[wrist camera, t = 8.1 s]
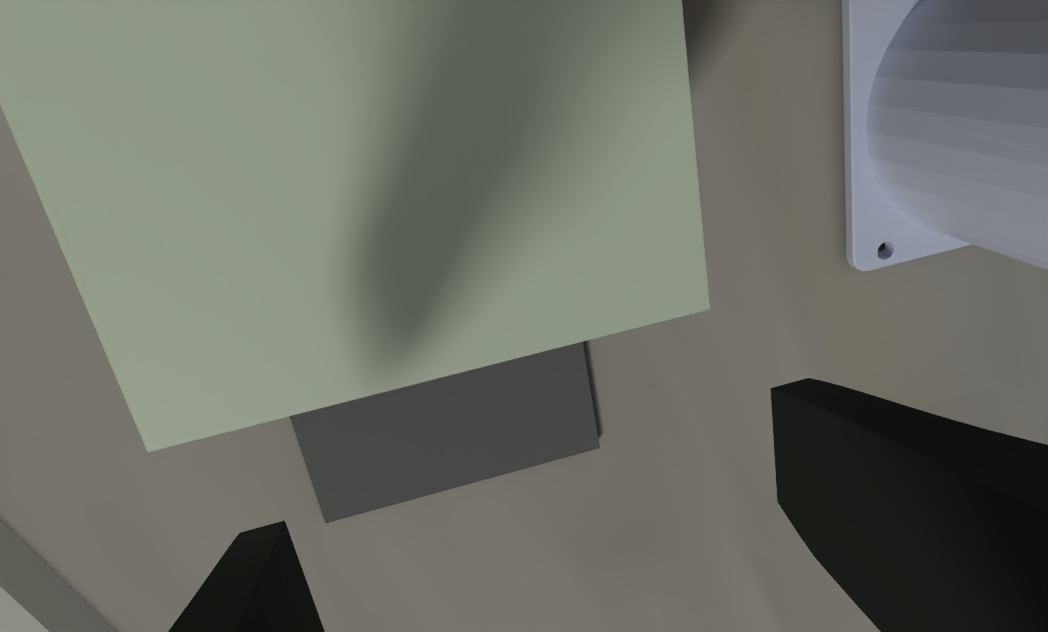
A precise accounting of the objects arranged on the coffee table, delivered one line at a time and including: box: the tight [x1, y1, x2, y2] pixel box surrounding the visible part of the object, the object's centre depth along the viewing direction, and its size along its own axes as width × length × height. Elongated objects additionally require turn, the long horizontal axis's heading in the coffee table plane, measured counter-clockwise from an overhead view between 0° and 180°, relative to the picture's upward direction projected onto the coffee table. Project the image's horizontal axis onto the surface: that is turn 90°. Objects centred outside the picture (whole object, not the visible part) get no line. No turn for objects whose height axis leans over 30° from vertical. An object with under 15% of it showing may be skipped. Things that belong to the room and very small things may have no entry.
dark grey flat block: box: [290, 342, 600, 523], centre depth 21 cm, size 8×5×1 cm, turn 100°
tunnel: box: [0, 0, 710, 452], centre depth 15 cm, size 10×10×7 cm
